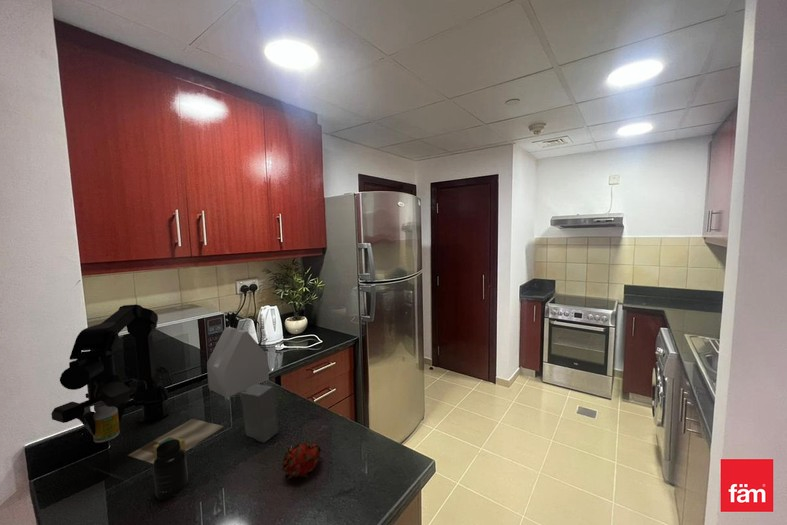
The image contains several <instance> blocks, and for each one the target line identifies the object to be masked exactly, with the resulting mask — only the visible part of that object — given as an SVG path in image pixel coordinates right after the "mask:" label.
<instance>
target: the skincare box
mask: <svg viewBox="0 0 787 525" xmlns="http://www.w3.org/2000/svg"><path fill="white" fill-rule="evenodd" d="M239 394H240V400H241V408H242V414H243V415H242V416H243V423H244V432H245V436H247V437H249V438H252V439H255V441H257V442H259V443H264V444H265V443H266V442H267V441H269V440H270V439H271V438H272V437H274V436H275V435H276V434H278V433H279V431H280V430H279V424H278V415H277V409H276V408H277V407H276V400H275V392H274V386H271V385H266V384H265V385H264V384H255V385H253V386H251V387H249V388H248V389H246V390H244V391H242V392H239Z"/></svg>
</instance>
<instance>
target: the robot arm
mask: <svg viewBox="0 0 787 525" xmlns="http://www.w3.org/2000/svg"><path fill="white" fill-rule="evenodd" d="M158 321H159V317H158V314H157V313H156V312H155V311H154V310H152V309H150V308H146V307H143V306H141V305H140V304H137V303H136V304H127V305H126V304H125V305H124V304H123V305H122V306H119V308H118V310H116V311H115V312H114V313H113V314H111V315H110V316H109V317H107V318H106V319H105V320H104V321H102V322H101V323H99V324H94V325H91V326H88V327H86V328H83V329H82V330H81V331H80V332H79V333H78V335H77V336H76V339H75V340H74V341H75V342H74V343H73V347H72V349H71V353H70V356H69V363H68V365H69V367H68V368H66V369H65V370H63V371H62V373H61V375H60V377H59V382H60V384H61V385H62V387H63V388H65V389H67V390H72V391H75V390H80V389H83V388H84V387H86V386H87V393H85V394H84V395H85V398H86V399H87V400H84V401H82V402H75V401H70V402H67V403H64V404H62V405H59V406H56V407H54V409H53V410H52V412H51V413H50V414H51V420H52V421H56V422H59V423H63V424H64V423H68V422H71V421H73V420H76V419H77V420H79V421H80V423H81V424H82V426H84V427H85V429H86V430H87V431H88V432H89V433H90V435H92V436H93V435H94V434H95V425H94V419H93V416H94V414H95V411H92V409H91V407H94V405H96V404H99V403H101V402H104V403H105V404H106V405H107V406H108V407H116V408H117V409H118V418H119V424H120V423H121V421H122V418H123V416H124V413H125V410H126V407H127V405H128V403H129V401H131V399H132V401H133V404H134V407H135V408H138V407H141V410H142V417H141V418H139V419H138V423H139V422H140V423H144V424H147V425H151V424H154V423H155V422H157V421H159V420H161V419H163V418H165V417H167V416H168V415H169V413H168V412H164V402H166V401H168V400H169V390H168V389H167V388H166V387H165V386H164V384H163V380H162V379H161V377H160V376H158V374H156V367H155V366H156V363H155V354H154V342H153V334H154V332H155V331H156V330H157V329H156V328H157V327H158ZM125 328H126V330H127V331H126V332H127V333H128V334H129V335H130V336H131V337H132V338H133V339H134V346H135V347H134V348H135V356H136V365H137V366H136V367H137V375H138V376H137V377H138V378H131V379H127V380H125V381H122V382H121V380H120V376H119V374H116V368H115V356H114V352H116V351H117V348H116V344H117V342H118V340H119V339H120V336H119V333H120V332H121V331H122V330H123V329H125Z"/></svg>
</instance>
